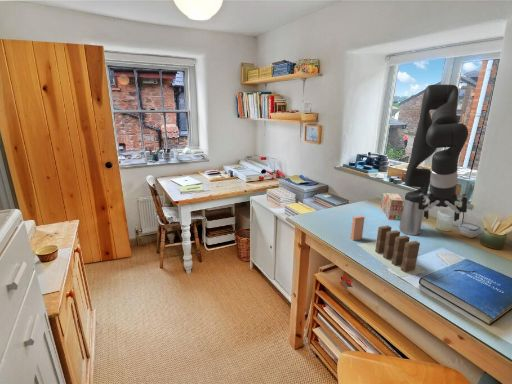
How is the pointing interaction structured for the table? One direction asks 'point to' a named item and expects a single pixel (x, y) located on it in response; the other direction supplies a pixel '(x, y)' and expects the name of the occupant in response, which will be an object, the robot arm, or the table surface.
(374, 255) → the domino mat
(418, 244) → the domino
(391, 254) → the domino
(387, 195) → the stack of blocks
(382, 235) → the domino
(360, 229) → the loose domino
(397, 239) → the domino
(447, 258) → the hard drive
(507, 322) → the table surface
